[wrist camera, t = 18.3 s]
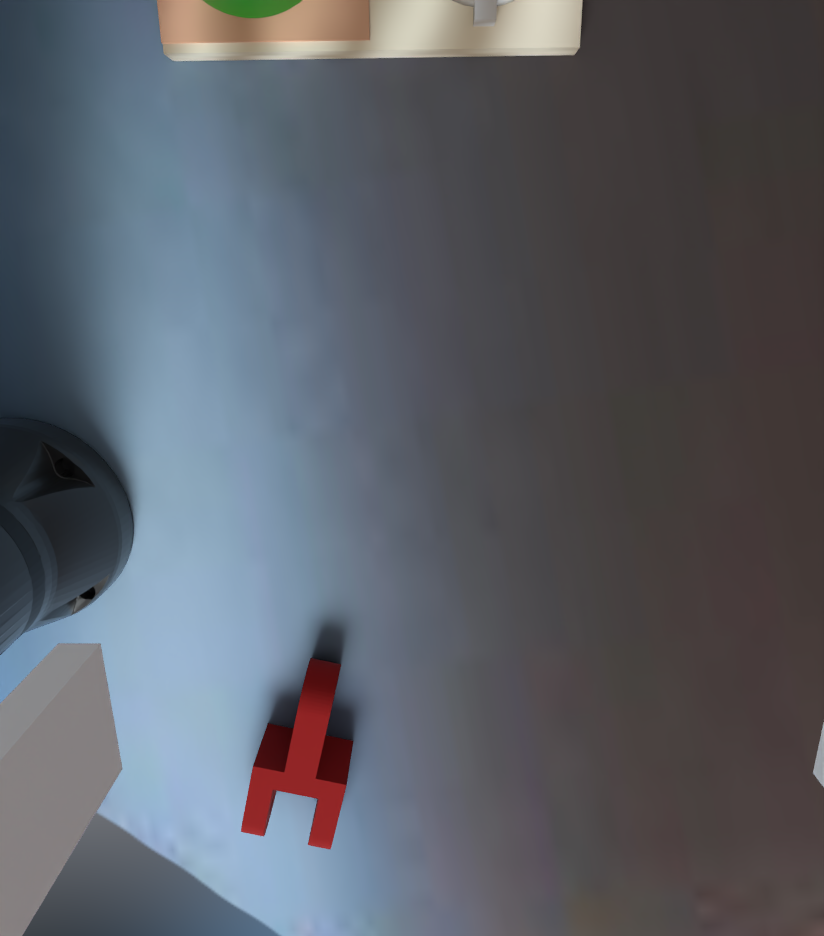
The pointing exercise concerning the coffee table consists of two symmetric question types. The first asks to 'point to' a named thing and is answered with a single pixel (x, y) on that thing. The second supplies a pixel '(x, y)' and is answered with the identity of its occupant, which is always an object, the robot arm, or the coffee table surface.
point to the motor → (252, 7)
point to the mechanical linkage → (303, 760)
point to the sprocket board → (373, 30)
